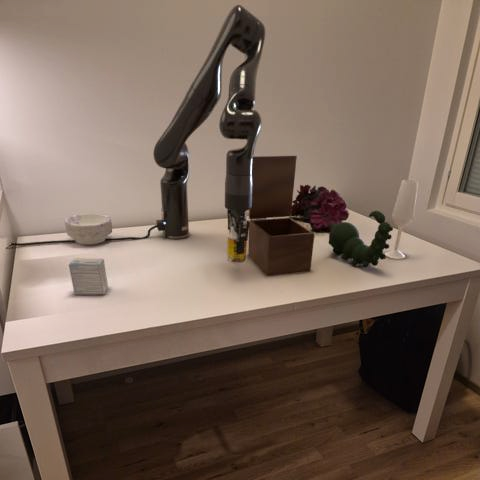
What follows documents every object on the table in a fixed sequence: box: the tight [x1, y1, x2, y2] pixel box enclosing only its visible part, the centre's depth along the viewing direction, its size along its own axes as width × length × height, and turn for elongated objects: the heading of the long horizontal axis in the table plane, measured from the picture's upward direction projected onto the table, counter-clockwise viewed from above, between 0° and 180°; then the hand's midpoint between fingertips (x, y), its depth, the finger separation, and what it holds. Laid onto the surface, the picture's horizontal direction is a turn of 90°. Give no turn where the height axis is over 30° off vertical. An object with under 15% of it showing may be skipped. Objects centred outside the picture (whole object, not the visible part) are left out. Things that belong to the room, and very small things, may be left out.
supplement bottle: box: [226, 226, 248, 265], centre depth 122 cm, size 6×6×10 cm
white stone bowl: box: [64, 213, 113, 246], centre depth 146 cm, size 15×15×8 cm
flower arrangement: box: [288, 184, 350, 233], centre depth 170 cm, size 31×20×15 cm, turn 22°
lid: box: [248, 155, 298, 220], centre depth 131 cm, size 18×14×6 cm
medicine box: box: [68, 257, 109, 296], centre depth 109 cm, size 8×4×9 cm, turn 92°
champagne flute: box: [384, 179, 419, 260], centre depth 135 cm, size 7×7×24 cm
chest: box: [247, 217, 315, 277], centre depth 129 cm, size 18×14×12 cm
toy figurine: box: [327, 210, 394, 268], centre depth 131 cm, size 9×19×25 cm
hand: (236, 249), depth 122 cm, fingers closed on supplement bottle, 5 cm apart
